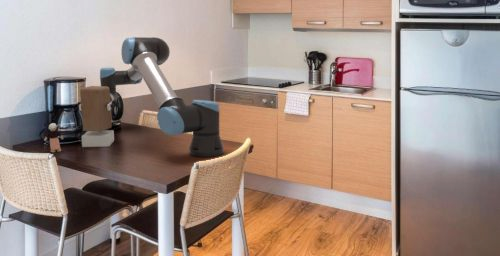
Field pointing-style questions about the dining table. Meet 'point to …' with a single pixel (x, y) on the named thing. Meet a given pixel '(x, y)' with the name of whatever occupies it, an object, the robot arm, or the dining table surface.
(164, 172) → the dining table surface
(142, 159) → the dining table surface
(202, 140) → the robot arm
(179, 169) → the dining table surface
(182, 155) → the dining table surface
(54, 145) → the grandmother figurine
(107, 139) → the base brick
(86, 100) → the wooden block
